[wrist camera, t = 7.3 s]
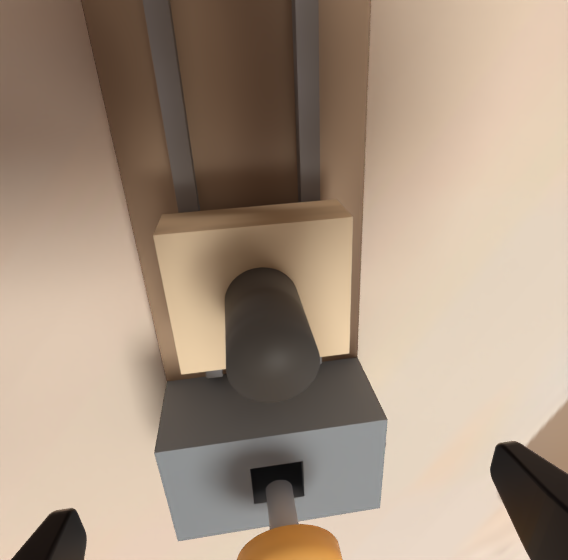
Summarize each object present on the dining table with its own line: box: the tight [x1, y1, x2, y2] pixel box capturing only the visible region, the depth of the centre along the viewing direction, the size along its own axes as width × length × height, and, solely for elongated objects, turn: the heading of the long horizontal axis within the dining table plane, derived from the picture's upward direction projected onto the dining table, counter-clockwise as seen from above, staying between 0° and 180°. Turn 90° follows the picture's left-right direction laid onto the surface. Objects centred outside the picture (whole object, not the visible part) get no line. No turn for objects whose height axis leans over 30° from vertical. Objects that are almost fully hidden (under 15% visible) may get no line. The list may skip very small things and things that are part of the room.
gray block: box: [154, 357, 387, 541], centre depth 22 cm, size 11×6×6 cm, turn 93°
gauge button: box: [237, 480, 342, 560], centre depth 17 cm, size 4×4×4 cm
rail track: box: [81, 0, 371, 381], centre depth 16 cm, size 10×22×4 cm, turn 3°
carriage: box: [153, 199, 353, 403], centre depth 15 cm, size 7×6×6 cm
